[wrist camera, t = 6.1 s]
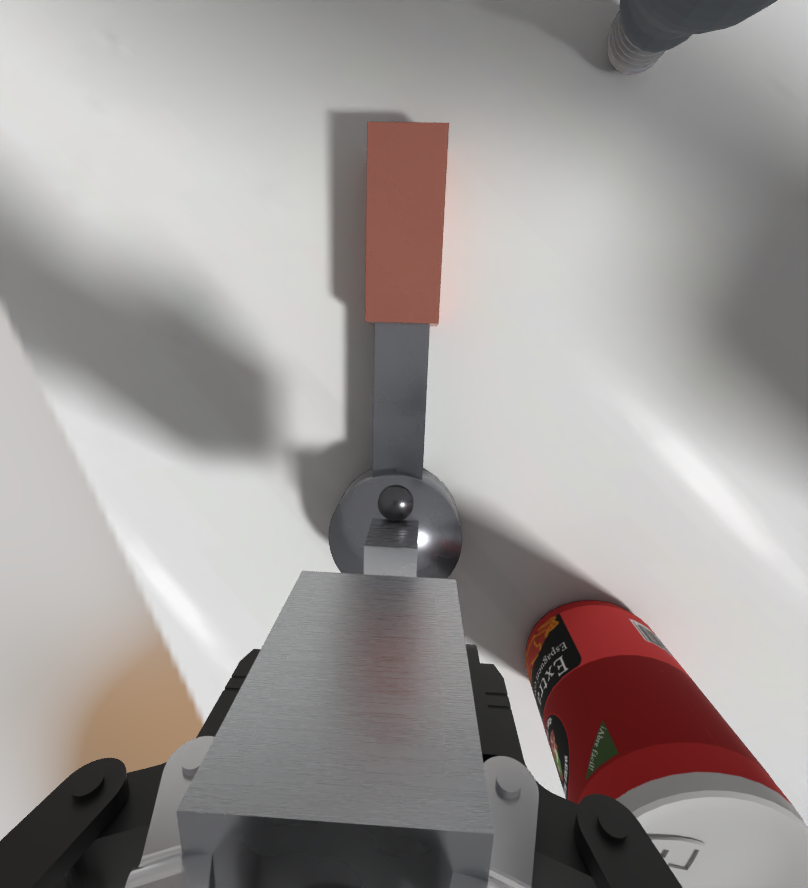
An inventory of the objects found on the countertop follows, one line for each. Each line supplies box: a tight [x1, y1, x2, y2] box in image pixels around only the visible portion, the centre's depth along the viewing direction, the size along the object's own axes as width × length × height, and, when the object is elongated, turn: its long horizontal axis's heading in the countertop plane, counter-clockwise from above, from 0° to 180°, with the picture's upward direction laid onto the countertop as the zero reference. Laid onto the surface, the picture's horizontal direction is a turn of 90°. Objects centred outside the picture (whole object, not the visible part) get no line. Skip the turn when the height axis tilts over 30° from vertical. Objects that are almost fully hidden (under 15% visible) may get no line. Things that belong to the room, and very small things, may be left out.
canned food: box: [526, 600, 808, 888], centre depth 20 cm, size 8×8×11 cm
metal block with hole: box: [176, 571, 494, 888], centre depth 10 cm, size 5×5×7 cm
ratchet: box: [329, 122, 462, 579], centre depth 19 cm, size 22×7×6 cm, turn 178°
